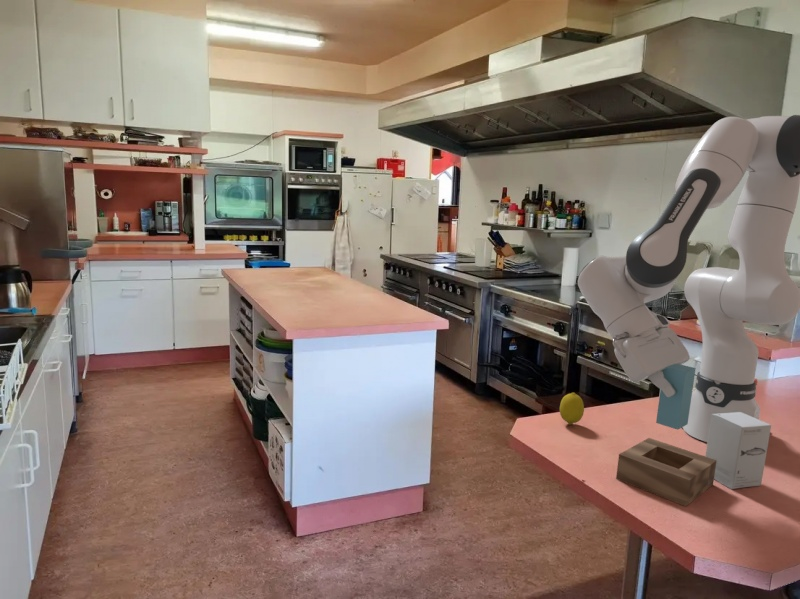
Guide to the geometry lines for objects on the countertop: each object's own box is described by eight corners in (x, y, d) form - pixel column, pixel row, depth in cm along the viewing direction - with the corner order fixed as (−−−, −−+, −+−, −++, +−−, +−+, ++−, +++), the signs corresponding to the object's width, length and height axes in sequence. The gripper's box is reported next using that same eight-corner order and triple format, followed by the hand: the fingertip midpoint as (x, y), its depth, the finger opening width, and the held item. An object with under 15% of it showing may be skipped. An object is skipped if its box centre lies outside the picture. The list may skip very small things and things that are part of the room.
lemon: (583, 430, 134) (586, 397, 133) (558, 427, 135) (562, 395, 134) (580, 421, 140) (584, 390, 138) (557, 419, 141) (560, 387, 139)
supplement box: (732, 490, 108) (742, 427, 106) (701, 472, 115) (710, 412, 113) (762, 486, 111) (773, 424, 108) (730, 469, 118) (740, 410, 115)
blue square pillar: (666, 417, 112) (673, 362, 110) (687, 424, 109) (695, 368, 107) (656, 422, 109) (663, 366, 107) (677, 429, 106) (685, 371, 104)
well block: (646, 460, 120) (649, 437, 119) (713, 484, 110) (716, 460, 109) (616, 478, 111) (619, 454, 110) (685, 506, 102) (689, 480, 101)
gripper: (622, 327, 103) (670, 394, 98) (669, 316, 117) (714, 374, 112) (596, 346, 107) (641, 411, 102) (645, 333, 121) (687, 390, 116)
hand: (679, 392), depth 107 cm, fingers closed on blue square pillar, 4 cm apart
